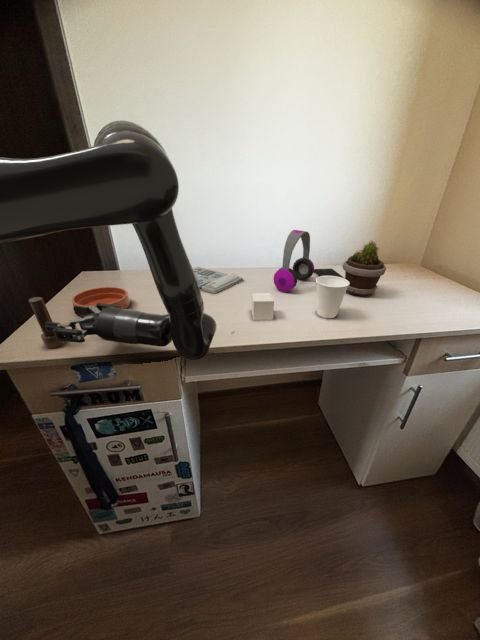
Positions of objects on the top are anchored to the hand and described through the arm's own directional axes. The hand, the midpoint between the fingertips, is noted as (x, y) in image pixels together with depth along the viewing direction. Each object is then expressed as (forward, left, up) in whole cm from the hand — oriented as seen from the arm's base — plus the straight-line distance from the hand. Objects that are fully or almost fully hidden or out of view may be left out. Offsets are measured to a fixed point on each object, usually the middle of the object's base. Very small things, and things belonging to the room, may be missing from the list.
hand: (61, 317), depth 65 cm
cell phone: (+91, +30, -8) cm, 96 cm away
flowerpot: (+93, +13, -8) cm, 94 cm away
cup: (+71, -1, -8) cm, 71 cm away
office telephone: (+39, +38, -8) cm, 55 cm away
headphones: (+72, +26, -8) cm, 77 cm away
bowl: (+5, +22, -8) cm, 24 cm away
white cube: (+51, +4, -8) cm, 51 cm away
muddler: (-4, +3, -8) cm, 9 cm away
